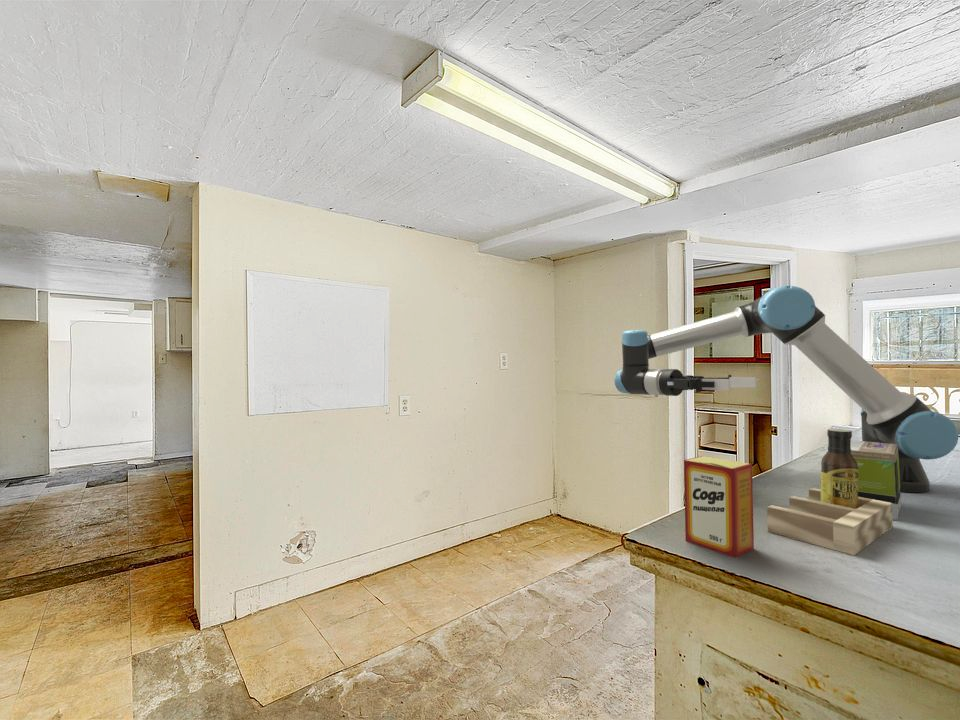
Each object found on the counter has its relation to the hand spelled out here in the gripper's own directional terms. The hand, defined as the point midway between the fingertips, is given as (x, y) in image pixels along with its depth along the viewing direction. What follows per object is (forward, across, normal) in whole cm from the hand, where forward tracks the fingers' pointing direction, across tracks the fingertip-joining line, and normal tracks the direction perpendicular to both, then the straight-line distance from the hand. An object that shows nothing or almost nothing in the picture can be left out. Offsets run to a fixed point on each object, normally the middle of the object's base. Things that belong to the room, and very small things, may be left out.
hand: (743, 383), depth 110 cm
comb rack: (+19, +5, -29) cm, 35 cm away
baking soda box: (+9, +31, -29) cm, 44 cm away
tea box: (+19, -18, -30) cm, 40 cm away
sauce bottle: (+18, 0, -30) cm, 35 cm away
